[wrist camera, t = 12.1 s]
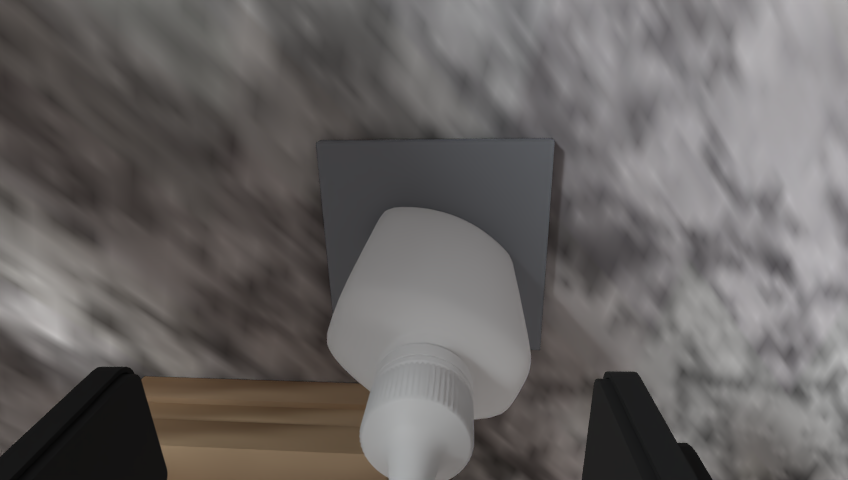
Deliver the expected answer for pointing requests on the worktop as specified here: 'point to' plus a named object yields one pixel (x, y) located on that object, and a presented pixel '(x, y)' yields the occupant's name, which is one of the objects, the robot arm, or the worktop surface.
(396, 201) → the slate mat
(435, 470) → the eye dropper bottle
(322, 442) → the wooden block
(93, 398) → the robot arm
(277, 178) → the worktop surface
